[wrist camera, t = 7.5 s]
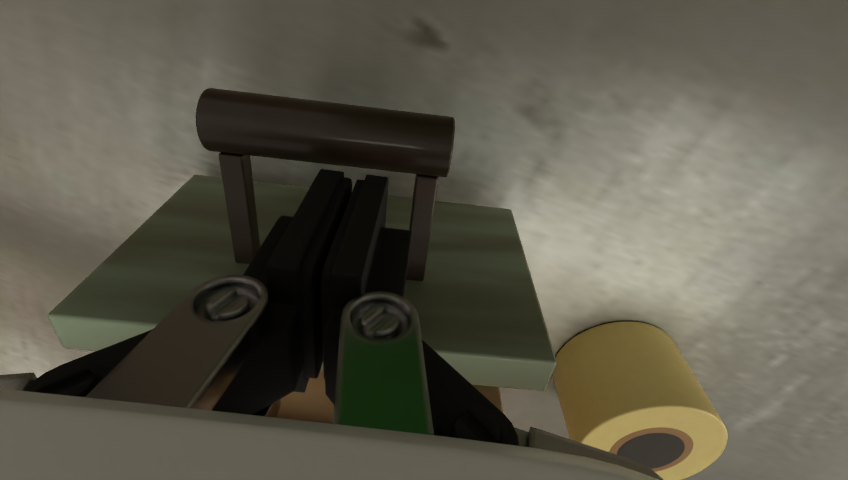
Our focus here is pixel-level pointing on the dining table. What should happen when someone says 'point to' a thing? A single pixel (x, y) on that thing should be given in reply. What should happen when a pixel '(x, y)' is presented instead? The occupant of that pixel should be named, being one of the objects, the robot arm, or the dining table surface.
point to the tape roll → (637, 399)
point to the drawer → (265, 202)
